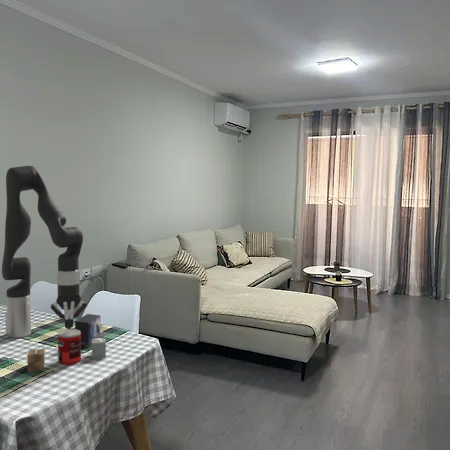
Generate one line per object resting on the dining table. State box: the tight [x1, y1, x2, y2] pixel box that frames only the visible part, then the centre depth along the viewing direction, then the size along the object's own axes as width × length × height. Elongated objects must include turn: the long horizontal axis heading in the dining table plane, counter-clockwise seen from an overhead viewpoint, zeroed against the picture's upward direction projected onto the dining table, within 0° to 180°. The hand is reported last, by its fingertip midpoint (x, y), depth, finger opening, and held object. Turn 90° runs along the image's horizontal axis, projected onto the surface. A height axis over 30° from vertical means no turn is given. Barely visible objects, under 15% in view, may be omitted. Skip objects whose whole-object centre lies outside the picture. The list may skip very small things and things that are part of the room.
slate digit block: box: [91, 337, 107, 360], centre depth 171 cm, size 5×5×6 cm
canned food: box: [57, 328, 82, 366], centre depth 165 cm, size 8×8×11 cm
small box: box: [74, 313, 101, 348], centre depth 184 cm, size 11×6×10 cm, turn 168°
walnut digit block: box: [26, 348, 46, 373], centre depth 159 cm, size 5×5×6 cm
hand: (69, 328), depth 164 cm, fingers closed
